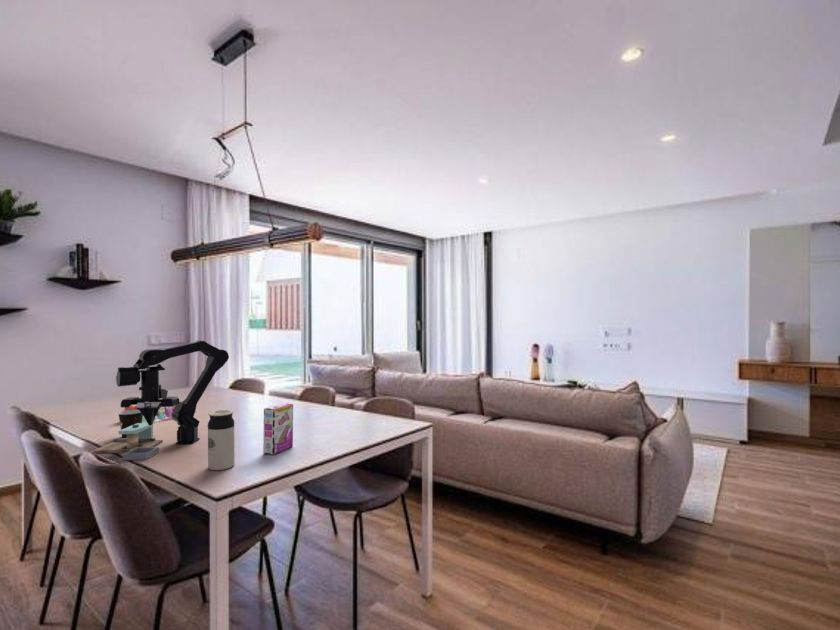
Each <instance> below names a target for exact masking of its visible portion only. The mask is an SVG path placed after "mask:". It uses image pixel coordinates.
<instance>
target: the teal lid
mask: <svg viewBox="0 0 840 630" xmlns="http://www.w3.org/2000/svg"><path fill="white" fill-rule="evenodd" d="M117 432H118V435H122V434H136V433H138V438H154V423H153V424H152V425H148V423H137V424H134V425H132V426H129V427H127V428H125V429H122V430H121V429H119V430H118V431H117Z"/></svg>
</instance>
